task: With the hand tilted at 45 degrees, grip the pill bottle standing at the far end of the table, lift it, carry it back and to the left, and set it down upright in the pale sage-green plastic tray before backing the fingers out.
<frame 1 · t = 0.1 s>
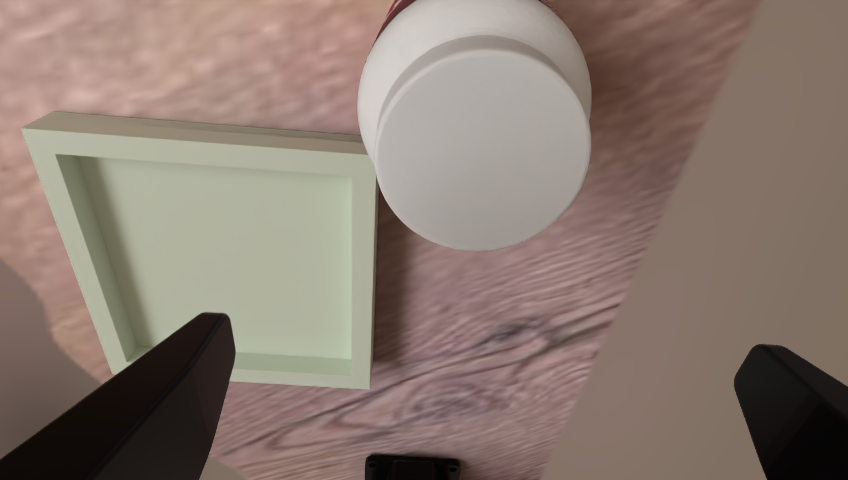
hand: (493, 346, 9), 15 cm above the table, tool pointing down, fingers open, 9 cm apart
tray: (238, 256, 26), on the table
pill bottle: (459, 46, 20), on the table
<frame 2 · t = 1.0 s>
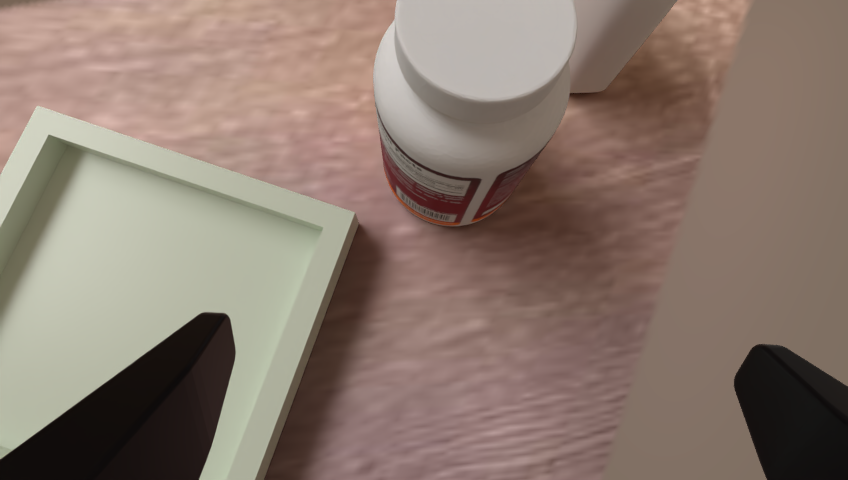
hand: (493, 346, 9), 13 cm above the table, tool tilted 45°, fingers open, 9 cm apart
tray: (147, 322, 21), on the table
eye dropper bottle: (574, 47, 25), on the table
pill bottle: (449, 166, 24), on the table
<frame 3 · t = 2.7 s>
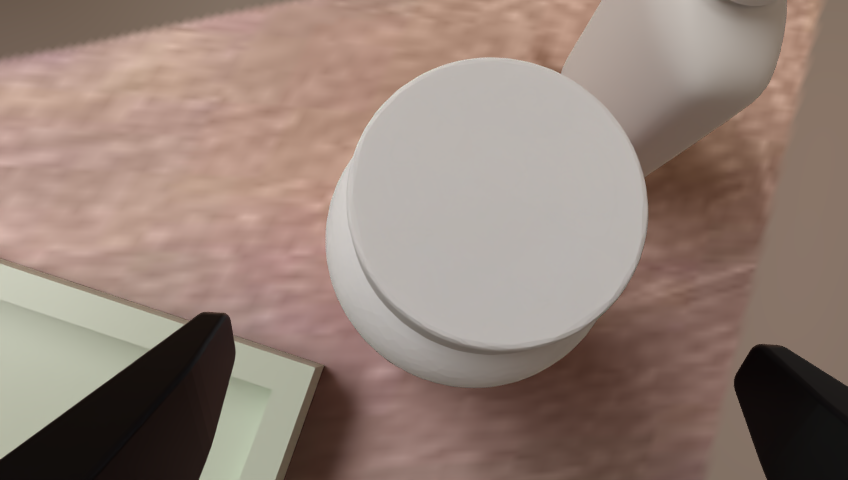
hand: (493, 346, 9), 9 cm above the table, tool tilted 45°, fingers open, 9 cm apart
eye dropper bottle: (594, 125, 20), on the table
pill bottle: (440, 283, 19), on the table
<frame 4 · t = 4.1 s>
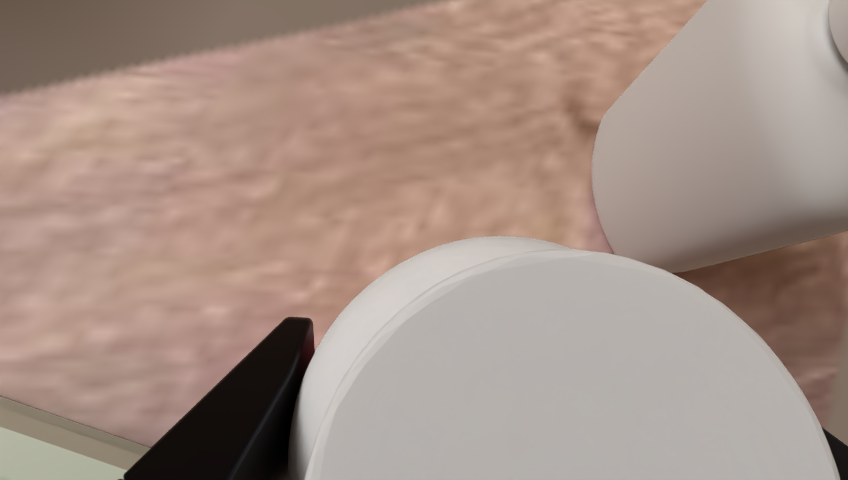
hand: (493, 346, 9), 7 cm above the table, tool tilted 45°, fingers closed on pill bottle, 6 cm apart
eye dropper bottle: (638, 192, 17), on the table
pill bottle: (450, 393, 15), on the table, touching gripper
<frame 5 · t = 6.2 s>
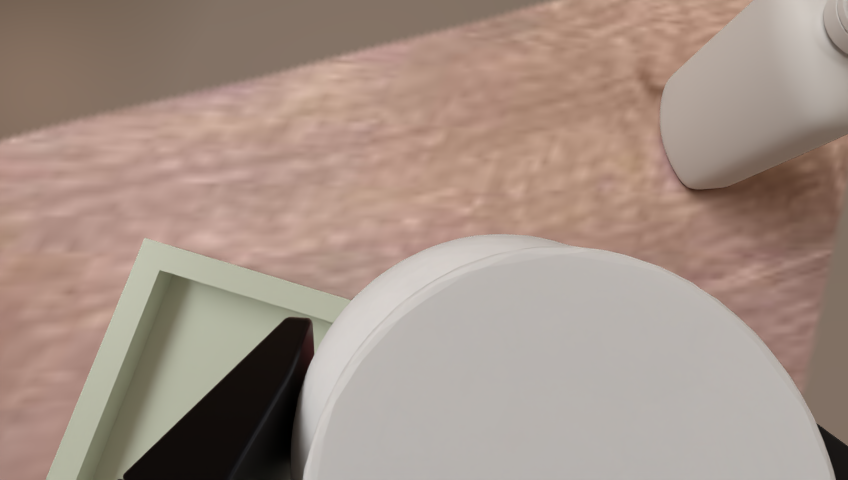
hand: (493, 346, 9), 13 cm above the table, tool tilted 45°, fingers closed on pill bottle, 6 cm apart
tray: (269, 461, 20), on the table
eye dropper bottle: (691, 135, 24), on the table
pill bottle: (454, 391, 15), point 6 cm above the table, touching gripper
when the fingers open (9 cm above the table, at t = 8.3 s): pill bottle drops 1 cm, resting on tray.
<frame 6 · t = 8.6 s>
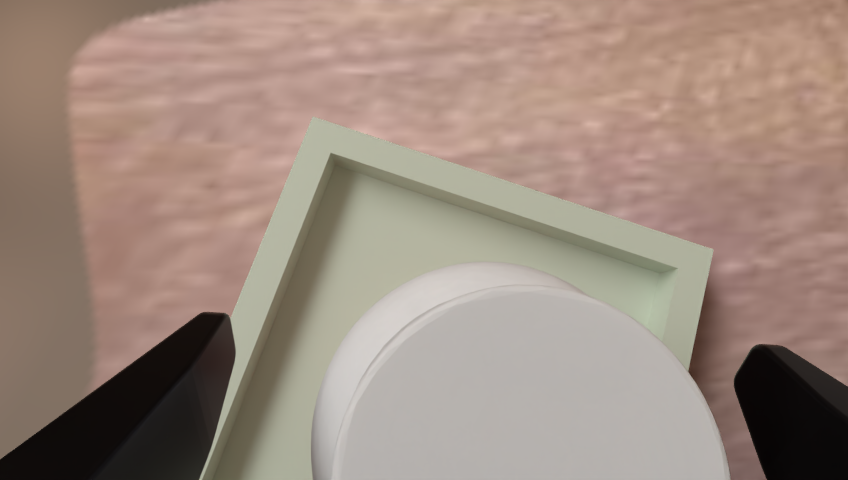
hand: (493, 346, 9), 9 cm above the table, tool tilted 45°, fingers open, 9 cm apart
tray: (442, 385, 17), on the table
pill bottle: (447, 391, 17), point 1 cm above the table, touching tray
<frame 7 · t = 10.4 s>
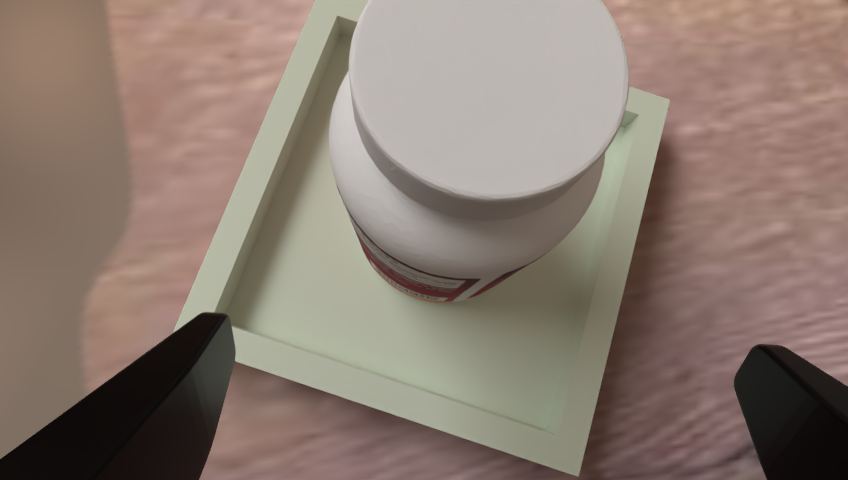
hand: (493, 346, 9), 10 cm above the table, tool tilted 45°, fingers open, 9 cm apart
tray: (434, 223, 20), on the table
pill bottle: (438, 223, 19), point 1 cm above the table, touching tray
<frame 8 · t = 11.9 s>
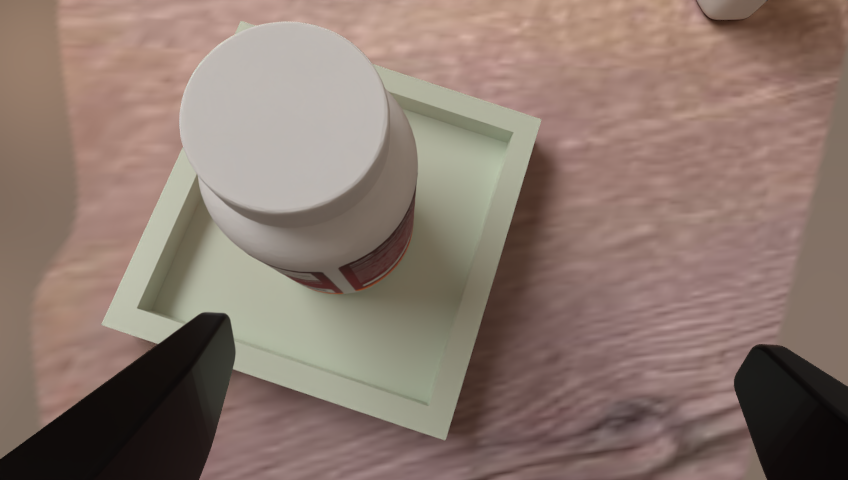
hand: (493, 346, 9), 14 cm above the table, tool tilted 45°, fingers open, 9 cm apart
tray: (340, 226, 23), on the table
pill bottle: (341, 226, 22), point 1 cm above the table, touching tray
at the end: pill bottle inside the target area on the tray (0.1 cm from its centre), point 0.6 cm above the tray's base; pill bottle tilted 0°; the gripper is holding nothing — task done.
